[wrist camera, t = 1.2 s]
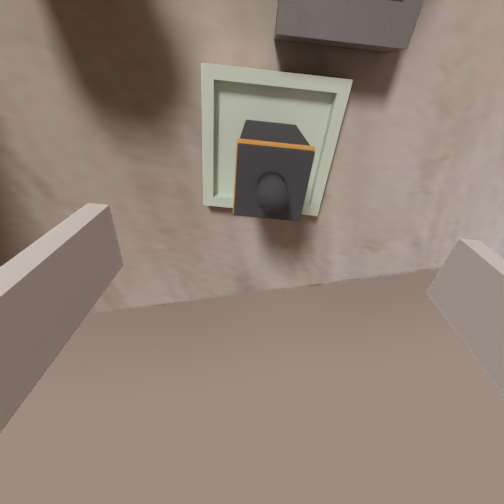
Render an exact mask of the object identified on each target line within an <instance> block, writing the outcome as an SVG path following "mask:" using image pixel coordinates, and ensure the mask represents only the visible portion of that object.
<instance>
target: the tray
mask: <svg viewBox="0 0 504 504" xmlns="http://www.w3.org/2000/svg"><path fill="white" fill-rule="evenodd" d="M352 82H353V80H352V79H343V78H334V77H325V76H316V75H307V74H298V73H290V72H281V71H272V70H263V69H254V68H245V67H236V66H227V65H218V64H209V63H201V97H202V158H203V205H207V206H217V207H228V208H233V198H234V180H235V162H236V143H237V139H238V138H240V136H241V133H242V130H243V127H244V124H245V121H246V120H256V121H265V122H274V123H284V124H293V125H296V126H297V127H298V129H299V130H300V132H301V133H302V134H303V136H304V137H305V139H306V140H307V142H308V143H309V144H310V146H314V147H315V149H316V151H315V156H314V160H313V165H312V169H311V174H310V178H309V183H308V187H307V192H306V196H305V201H304V205H303V210H302V214H301V215H311V216H318V212H319V208H320V204H321V201H322V197H323V193H324V189H325V185H326V181H327V178H328V174H329V170H330V166H331V162H332V159H333V155H334V151H335V147H336V143H337V139H338V136H339V132H340V128H341V124H342V120H343V117H344V113H345V109H346V105H347V101H348V97H349V94H350V90H351V86H352Z"/></svg>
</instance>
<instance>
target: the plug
mask: <svg viewBox="0 0 504 504" xmlns="http://www.w3.org/2000/svg"><path fill="white" fill-rule="evenodd" d="M315 151H316V149H315V147H314V146H310V144H309V143H308V142H307V140H306V139H305V137H304V136H303V134H302V133H301V132H300V130H299V129H298V127H297V126H296V125H293V124H284V123H274V122H265V121H256V120H246V121H245V124H244V127H243V130H242V133H241V136H240V138H238V139H237V143H236V162H235V180H234V198H233V214H234V215H240V216H250V217H260V218H271V219H281V220H292V221H300V219H301V214H302V210H303V205H304V201H305V196H306V192H307V187H308V183H309V178H310V174H311V169H312V165H313V160H314V156H315Z"/></svg>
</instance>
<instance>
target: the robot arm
mask: <svg viewBox="0 0 504 504" xmlns="http://www.w3.org/2000/svg"><path fill="white" fill-rule="evenodd" d="M122 266H123V261H122V257H121V253H120V249H119V245H118V240H117V236H116V232H115V228H114V224H113V220H112V216H111V211H110V207H109V205H103V204H93V203H87V204H86V205H84V206H83V207H82V208H80V209H79V210H77V211H76V212H75V213H73V214H72V215H71V216H69V217H68V218H67V219H65V220H64V221H62V222H61V223H60V224H58V225H57V226H56V227H54V228H53V229H52V230H50V231H49V232H47V233H46V234H45V235H43V236H42V237H41V238H39V239H38V240H36V241H35V242H34V243H32V244H31V245H30V246H28V247H27V248H26V249H24V250H23V251H21V252H20V253H19V254H17V255H16V256H15V257H13V258H12V259H11V260H9V261H8V262H6V263H5V264H4V265H2V266H1V267H0V432H1V431H2V430H3V428H4V427H5V426H6V424H7V423H8V422H9V420H10V419H11V417H12V416H13V415H14V413H15V412H16V410H17V409H18V408H19V407H20V405H21V404H22V402H23V401H24V400H25V398H26V397H27V396H28V394H29V393H30V392H31V390H32V389H33V387H34V386H35V385H36V383H37V382H38V381H39V379H40V378H41V377H42V375H43V374H44V372H45V371H46V369H47V368H48V367H49V365H50V364H51V363H52V362H53V360H54V359H55V357H56V356H57V355H58V353H59V352H60V351H61V349H62V348H63V347H64V345H65V343H66V342H67V341H68V340H69V338H70V337H71V335H72V334H73V333H74V331H75V330H76V329H77V327H78V326H79V325H80V323H81V322H82V321H83V319H84V318H85V317H86V315H87V314H88V312H89V311H90V310H91V308H92V307H93V306H94V304H95V303H96V302H97V300H98V299H99V297H100V296H101V295H102V293H103V292H104V291H105V289H106V288H107V287H108V285H109V284H110V282H111V281H112V280H113V278H114V277H115V276H116V274H117V273H118V271H119V270H120V269H121V267H122ZM426 294H427V295H428V296H429V298H430V299H431V300H432V301H433V303H434V304H435V306H436V307H437V308H438V310H439V311H440V312H441V314H442V315H443V316H444V318H445V319H446V320H447V322H448V323H449V324H450V326H451V327H452V328H453V330H454V331H455V332H456V334H457V335H458V336H459V338H460V339H461V340H462V342H463V343H464V344H465V346H466V347H467V348H468V350H469V351H470V352H471V354H472V355H473V356H474V358H475V359H476V360H477V362H478V363H479V364H480V366H481V367H482V368H483V370H484V371H485V372H486V373H487V375H488V376H489V378H490V379H491V380H492V381H493V383H494V384H495V386H496V387H497V388H498V390H499V391H500V392H501V393H502V395H503V396H504V259H503V258H501V257H500V256H499V255H498V254H496V253H495V252H494V251H492V250H491V249H490V248H488V247H487V246H486V245H484V244H483V243H482V242H480V241H476V240H466V239H459V241H458V242H457V244H456V246H455V247H454V249H453V250H452V252H451V253H450V255H449V256H448V258H447V260H446V261H445V263H444V264H443V266H442V267H441V269H440V270H439V272H438V274H437V275H436V277H435V278H434V280H433V281H432V283H431V285H430V286H429V288H428V289H427V291H426Z"/></svg>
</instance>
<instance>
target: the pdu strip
mask: <svg viewBox="0 0 504 504" xmlns="http://www.w3.org/2000/svg"><path fill="white" fill-rule="evenodd" d="M423 1H424V0H278V9H277V18H276V27H275V36H274V40H281V41H290V42H298V43H307V44H315V45H324V46H333V47H341V48H350V49H359V50H367V51H376V52H384V53H388V52H394V51H399V50H405V49H407V47H408V45H409V42H410V39H411V36H412V33H413V30H414V27H415V24H416V21H417V18H418V15H419V12H420V9H421V6H422V4H423Z"/></svg>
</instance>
